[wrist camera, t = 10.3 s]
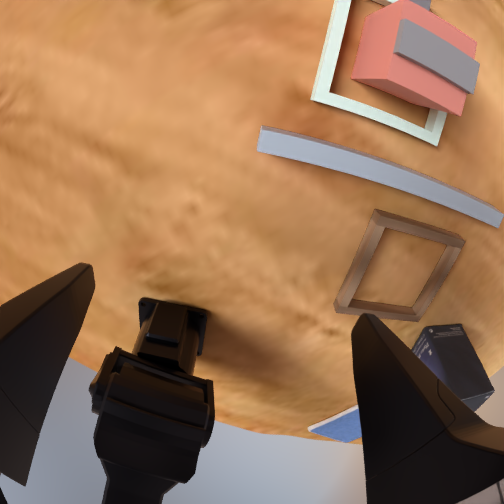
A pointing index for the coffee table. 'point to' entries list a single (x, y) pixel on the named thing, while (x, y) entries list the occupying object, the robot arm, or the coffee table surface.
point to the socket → (324, 96)
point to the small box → (454, 363)
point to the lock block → (417, 57)
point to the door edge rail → (373, 171)
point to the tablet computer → (340, 426)
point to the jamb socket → (366, 252)
